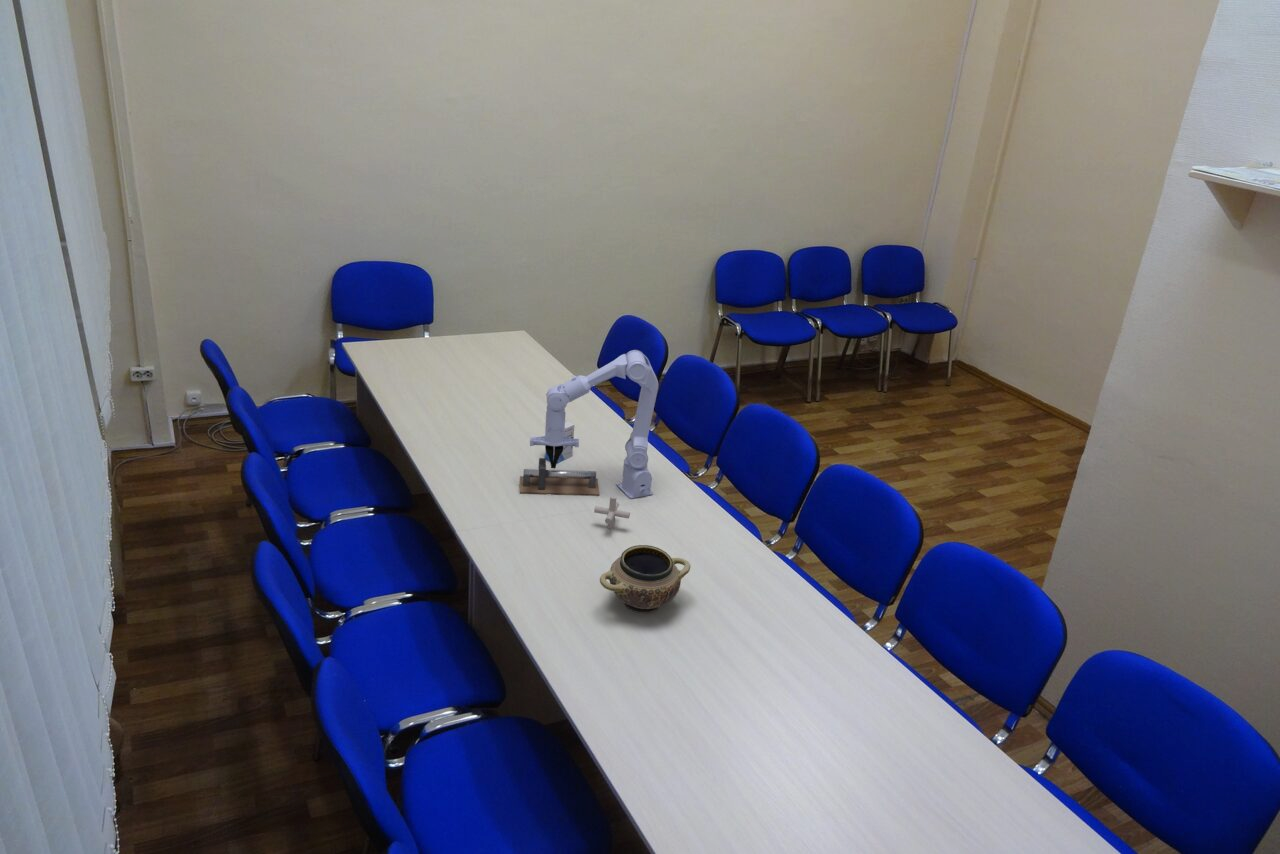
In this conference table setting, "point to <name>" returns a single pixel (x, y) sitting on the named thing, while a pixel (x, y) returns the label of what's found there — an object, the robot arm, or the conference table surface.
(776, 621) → the conference table surface
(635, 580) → the ceramic bowl
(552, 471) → the steel pipe
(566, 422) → the ink box
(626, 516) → the pipe connector
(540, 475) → the rubber collar
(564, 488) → the walnut board
